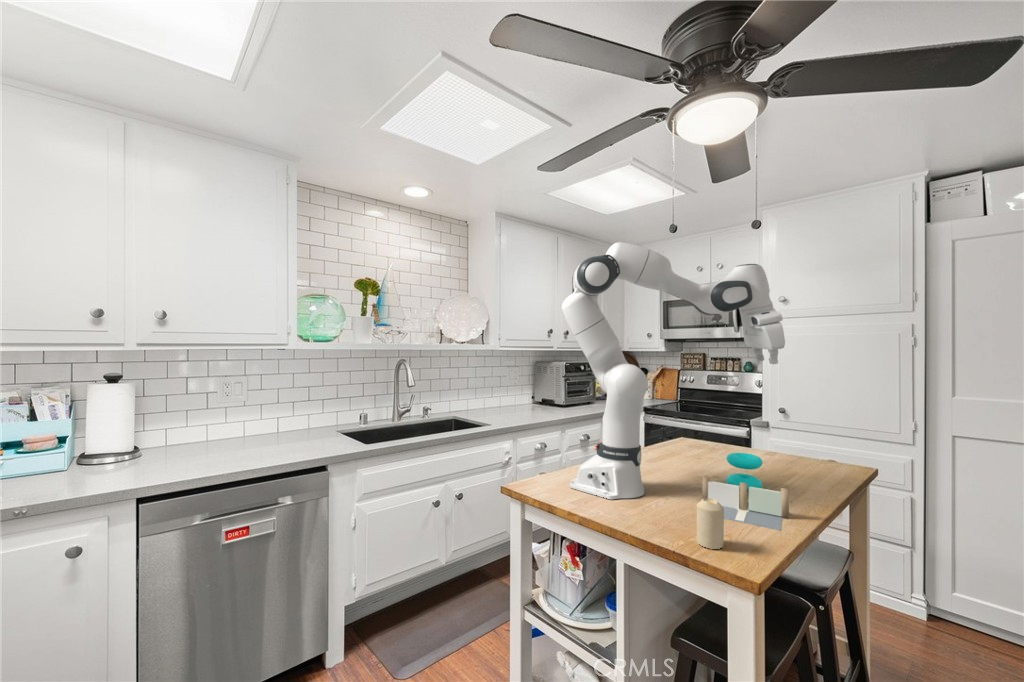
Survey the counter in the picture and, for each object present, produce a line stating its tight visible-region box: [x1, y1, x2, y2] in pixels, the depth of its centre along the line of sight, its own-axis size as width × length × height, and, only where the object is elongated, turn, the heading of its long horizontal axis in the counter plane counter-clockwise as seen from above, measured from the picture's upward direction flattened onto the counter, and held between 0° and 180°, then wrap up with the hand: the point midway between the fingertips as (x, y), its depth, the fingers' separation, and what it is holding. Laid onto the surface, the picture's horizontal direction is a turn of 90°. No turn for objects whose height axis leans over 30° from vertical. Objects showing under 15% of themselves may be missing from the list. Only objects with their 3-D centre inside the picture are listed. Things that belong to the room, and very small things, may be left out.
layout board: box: [722, 501, 783, 532], centre depth 118 cm, size 19×17×1 cm
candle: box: [696, 498, 725, 550], centre depth 99 cm, size 6×6×10 cm
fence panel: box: [748, 486, 790, 519], centre depth 116 cm, size 9×2×7 cm, turn 56°
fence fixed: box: [701, 475, 748, 510], centre depth 122 cm, size 11×2×7 cm, turn 57°
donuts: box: [726, 452, 763, 492], centre depth 139 cm, size 10×10×10 cm
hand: (767, 362), depth 131 cm, fingers open, 8 cm apart
